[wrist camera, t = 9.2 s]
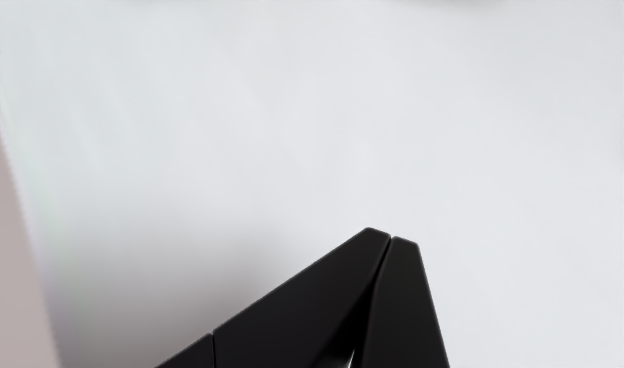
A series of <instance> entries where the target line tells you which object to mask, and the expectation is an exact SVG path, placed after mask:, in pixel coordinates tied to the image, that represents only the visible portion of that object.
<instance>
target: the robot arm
mask: <svg viewBox="0 0 624 368" xmlns="http://www.w3.org/2000/svg"><path fill="white" fill-rule="evenodd" d="M353 353H354V354H353ZM352 356H353V358H352ZM351 358H352V361H351ZM350 361H351V365H350V368H450V366H449V362H448V358H447V354H446V350H445V346H444V342H443V338H442V335H441V331H440V327H439V323H438V319H437V315H436V311H435V307H434V304H433V300H432V296H431V292H430V288H429V284H428V280H427V277H426V273H425V269H424V265H423V261H422V257H421V253H420V249H419V246H418V244H417V243H415V242H413V241H410V240H407V239H404V238H401V237H398V236H395V237H393V238H392V239H391V235H390V234H388V233H386V232H383V231H380V230H377V229H374V228H370V227H368V228H365V229H364V230H362V231H361V232H359V233H358V234H356V235H355V236H353V237H352V238H350V239H349V240H347V241H346V242H344V243H343V244H341V245H340V246H338V247H337V248H335V249H334V250H332V251H331V252H329V253H328V254H326V255H325V256H323V257H322V258H320V259H319V260H317V261H316V262H314V263H313V264H311V265H310V266H308V267H307V268H305V269H304V270H302V271H301V272H299V273H298V274H296V275H295V276H293V277H292V278H290V279H289V280H287V281H286V282H284V283H283V284H281V285H280V286H278V287H277V288H275V289H274V290H272V291H271V292H269V293H268V294H266V295H265V296H263V297H262V298H260V299H259V300H257V301H256V302H254V303H253V304H251V305H250V306H248V307H247V308H245V309H244V310H242V311H241V312H239V313H238V314H236V315H235V316H233V317H232V318H230V319H229V320H227V321H226V322H224V323H223V324H221V325H220V326H218V327H217V328H216V329H214V330H213V335H212V334H211V333H208V334H206V335H205V336H203V337H202V338H200V339H199V340H197V341H196V342H194V343H193V344H191V345H190V346H188V347H187V348H185V349H184V350H182V351H180V352H179V353H177V354H176V355H174V356H172V357H171V358H169V359H168V360H166V361H164V362H163V363H161V364H160V365H158V366H157V367H155V368H348V366H349V363H350Z"/></svg>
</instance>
